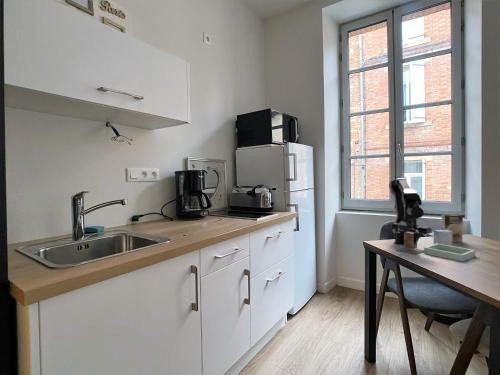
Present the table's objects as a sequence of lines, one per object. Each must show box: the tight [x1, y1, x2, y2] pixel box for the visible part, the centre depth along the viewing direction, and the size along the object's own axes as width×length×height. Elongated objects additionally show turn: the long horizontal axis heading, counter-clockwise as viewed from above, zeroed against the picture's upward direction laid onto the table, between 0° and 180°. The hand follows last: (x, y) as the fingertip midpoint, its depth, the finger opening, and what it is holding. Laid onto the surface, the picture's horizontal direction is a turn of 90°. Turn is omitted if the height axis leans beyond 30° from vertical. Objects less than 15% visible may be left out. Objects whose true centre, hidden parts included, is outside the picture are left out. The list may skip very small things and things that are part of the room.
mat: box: [396, 246, 424, 256], centre depth 143 cm, size 10×10×1 cm
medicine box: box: [433, 229, 453, 246], centre depth 152 cm, size 8×4×9 cm, turn 84°
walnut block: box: [403, 231, 418, 249], centre depth 143 cm, size 4×4×8 cm
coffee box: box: [441, 213, 464, 243], centre depth 162 cm, size 9×6×16 cm
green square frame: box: [423, 243, 476, 262], centre depth 135 cm, size 17×14×3 cm
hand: (410, 243), depth 143 cm, fingers closed on walnut block, 4 cm apart
